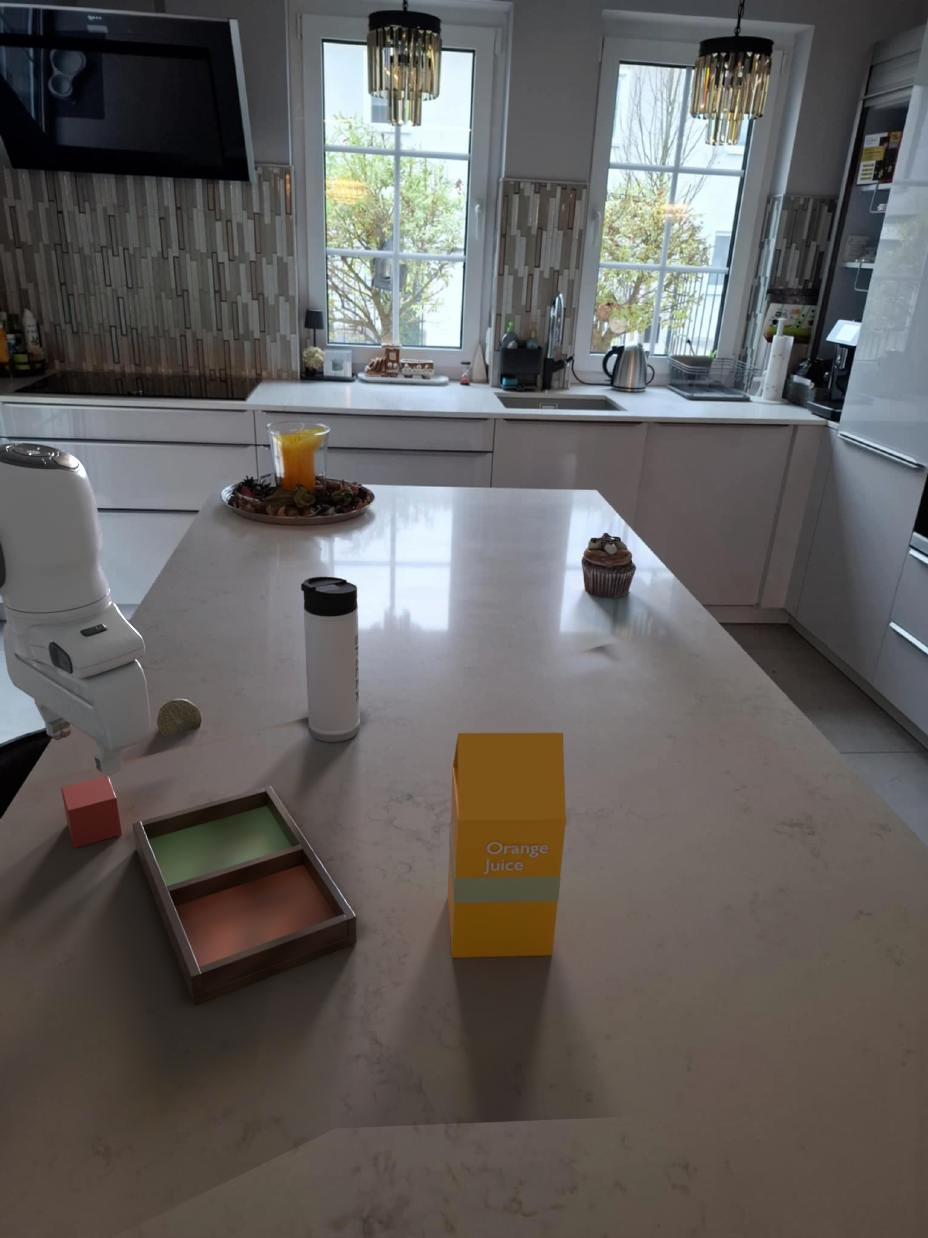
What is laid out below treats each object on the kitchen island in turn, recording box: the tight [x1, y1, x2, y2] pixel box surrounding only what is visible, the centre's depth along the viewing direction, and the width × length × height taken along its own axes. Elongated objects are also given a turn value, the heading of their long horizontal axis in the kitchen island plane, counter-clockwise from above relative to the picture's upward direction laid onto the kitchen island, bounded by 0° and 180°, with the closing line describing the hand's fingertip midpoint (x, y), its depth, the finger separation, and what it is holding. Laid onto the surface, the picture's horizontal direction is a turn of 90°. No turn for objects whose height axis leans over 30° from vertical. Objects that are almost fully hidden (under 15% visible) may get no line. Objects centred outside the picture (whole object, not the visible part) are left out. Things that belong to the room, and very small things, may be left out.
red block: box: [60, 775, 123, 849], centre depth 88 cm, size 4×4×4 cm
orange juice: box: [447, 732, 567, 958], centre depth 74 cm, size 8×9×20 cm
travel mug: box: [300, 576, 361, 743], centre depth 104 cm, size 6×7×20 cm
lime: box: [156, 698, 202, 737], centre depth 104 cm, size 4×5×5 cm
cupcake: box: [580, 532, 637, 599], centre depth 154 cm, size 10×10×10 cm
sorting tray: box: [132, 785, 358, 1006], centre depth 80 cm, size 14×22×3 cm, turn 31°
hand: (83, 753), depth 85 cm, fingers open, 8 cm apart
